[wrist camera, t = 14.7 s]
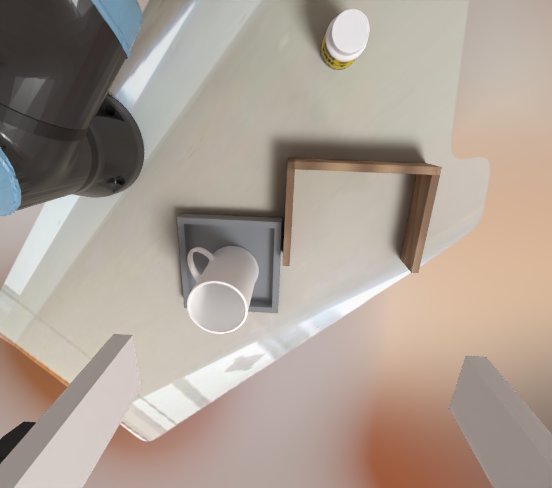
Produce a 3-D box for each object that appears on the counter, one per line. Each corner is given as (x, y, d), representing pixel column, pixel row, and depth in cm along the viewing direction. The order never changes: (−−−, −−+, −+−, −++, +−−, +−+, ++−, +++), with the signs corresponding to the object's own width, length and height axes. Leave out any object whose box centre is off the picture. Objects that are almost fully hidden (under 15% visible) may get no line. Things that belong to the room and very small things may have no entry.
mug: (186, 245, 50) (155, 278, 39) (229, 219, 48) (209, 246, 37) (227, 299, 53) (209, 344, 42) (268, 277, 51) (261, 318, 40)
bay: (283, 253, 50) (282, 265, 45) (288, 157, 45) (287, 161, 40) (406, 259, 49) (418, 272, 45) (425, 163, 44) (441, 167, 39)
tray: (189, 300, 54) (184, 307, 52) (182, 213, 49) (176, 217, 46) (278, 305, 54) (277, 313, 51) (282, 217, 48) (281, 222, 46)
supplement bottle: (313, 57, 40) (318, 39, 32) (334, 20, 39) (345, -8, 31) (343, 78, 41) (355, 66, 33) (364, 43, 39) (383, 21, 31)
